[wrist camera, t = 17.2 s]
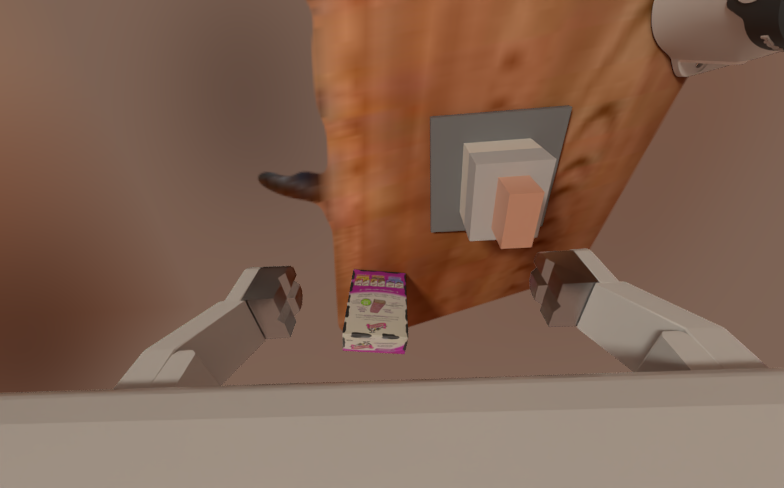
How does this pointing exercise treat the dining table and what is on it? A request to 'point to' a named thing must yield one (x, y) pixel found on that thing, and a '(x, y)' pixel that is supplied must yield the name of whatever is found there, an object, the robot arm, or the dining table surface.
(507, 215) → the terracotta brick
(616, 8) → the dining table surface
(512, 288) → the dining table surface
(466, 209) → the white stack on tray
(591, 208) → the dining table surface
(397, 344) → the candy bar box
